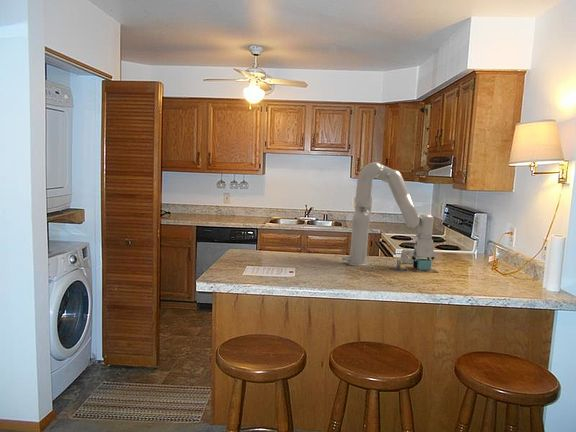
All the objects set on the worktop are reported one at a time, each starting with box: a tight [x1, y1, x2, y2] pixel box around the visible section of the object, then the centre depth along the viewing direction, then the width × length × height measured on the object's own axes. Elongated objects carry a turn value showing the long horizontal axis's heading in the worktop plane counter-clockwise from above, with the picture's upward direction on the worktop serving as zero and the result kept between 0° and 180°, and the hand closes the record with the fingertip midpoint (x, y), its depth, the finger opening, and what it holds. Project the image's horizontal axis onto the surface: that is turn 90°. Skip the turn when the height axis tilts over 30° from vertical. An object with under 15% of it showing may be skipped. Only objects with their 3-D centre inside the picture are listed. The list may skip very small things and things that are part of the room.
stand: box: [388, 259, 408, 272], centre depth 244 cm, size 10×10×6 cm
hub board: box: [405, 258, 439, 274], centre depth 247 cm, size 14×12×7 cm
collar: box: [412, 257, 433, 270], centre depth 247 cm, size 7×7×5 cm
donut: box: [400, 248, 415, 266], centre depth 263 cm, size 10×3×10 cm, turn 89°
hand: (421, 267), depth 247 cm, fingers closed on collar, 7 cm apart
